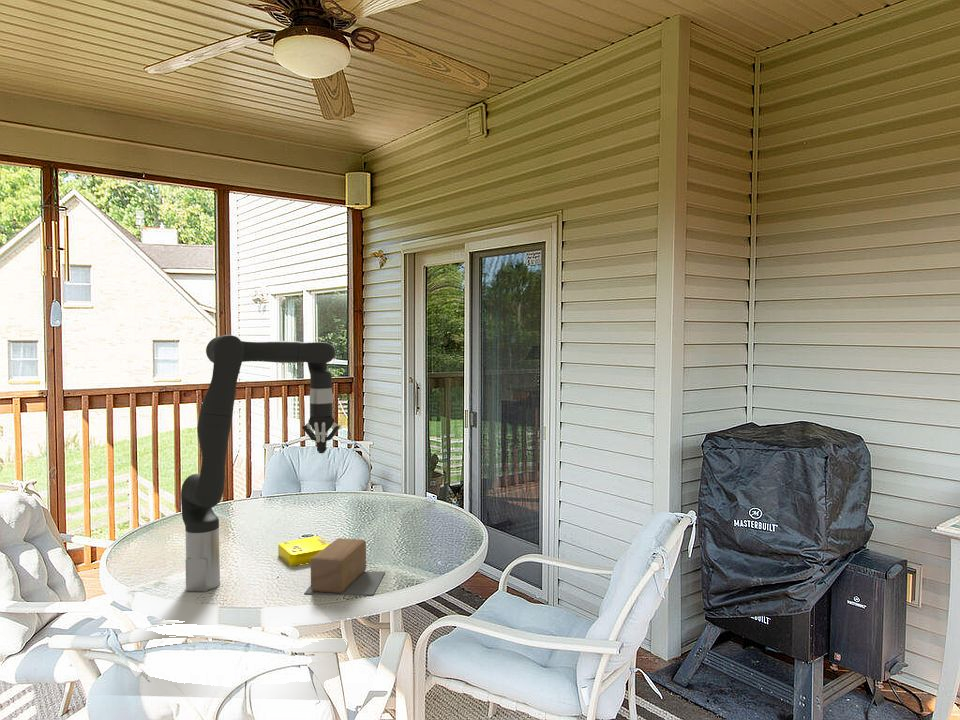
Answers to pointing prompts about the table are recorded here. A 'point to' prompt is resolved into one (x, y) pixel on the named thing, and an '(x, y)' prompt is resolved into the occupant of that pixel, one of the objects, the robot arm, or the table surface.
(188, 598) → the table surface
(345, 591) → the mat
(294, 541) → the yellow labelled tile
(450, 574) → the table surface
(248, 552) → the table surface
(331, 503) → the table surface
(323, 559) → the wooden block
